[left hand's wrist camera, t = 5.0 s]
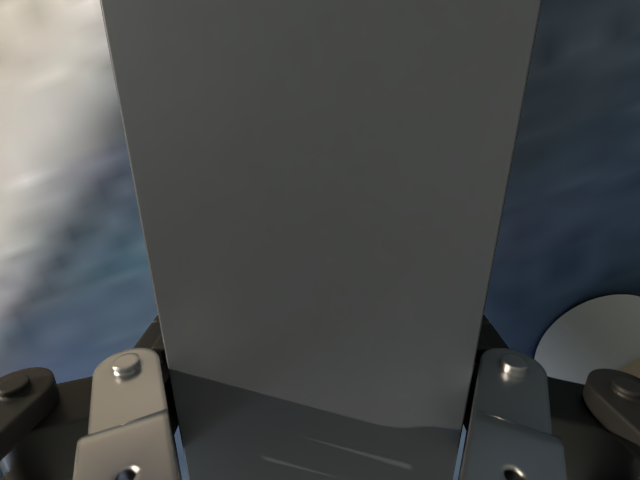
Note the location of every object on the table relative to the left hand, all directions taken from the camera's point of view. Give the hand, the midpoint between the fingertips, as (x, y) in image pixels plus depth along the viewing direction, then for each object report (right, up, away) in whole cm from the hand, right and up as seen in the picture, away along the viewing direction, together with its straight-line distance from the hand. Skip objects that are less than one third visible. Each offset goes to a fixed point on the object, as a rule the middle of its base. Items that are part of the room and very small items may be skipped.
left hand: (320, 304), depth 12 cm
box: (0, +9, +3) cm, 9 cm away
